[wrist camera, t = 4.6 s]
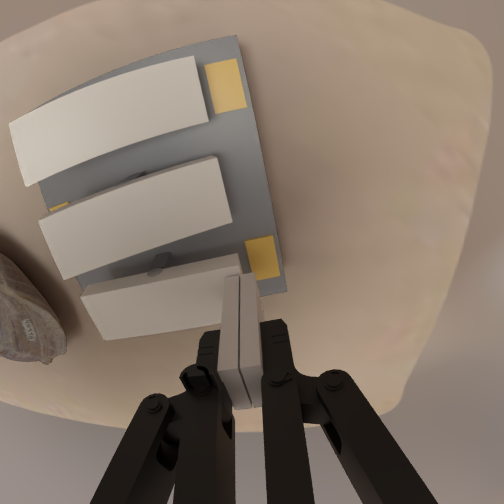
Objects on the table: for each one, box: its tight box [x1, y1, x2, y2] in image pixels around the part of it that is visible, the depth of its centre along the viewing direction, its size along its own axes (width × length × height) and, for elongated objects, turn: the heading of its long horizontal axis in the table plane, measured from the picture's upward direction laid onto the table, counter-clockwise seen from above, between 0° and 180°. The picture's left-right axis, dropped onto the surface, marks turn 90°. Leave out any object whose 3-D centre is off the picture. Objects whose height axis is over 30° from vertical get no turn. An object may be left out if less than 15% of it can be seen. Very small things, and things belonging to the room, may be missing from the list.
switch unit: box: [30, 35, 287, 297], centre depth 18 cm, size 15×17×5 cm
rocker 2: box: [38, 155, 232, 280], centre depth 15 cm, size 10×4×2 cm, turn 101°
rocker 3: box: [80, 253, 243, 341], centre depth 18 cm, size 10×4×2 cm, turn 101°
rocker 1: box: [9, 56, 209, 187], centre depth 13 cm, size 10×4×2 cm, turn 101°
